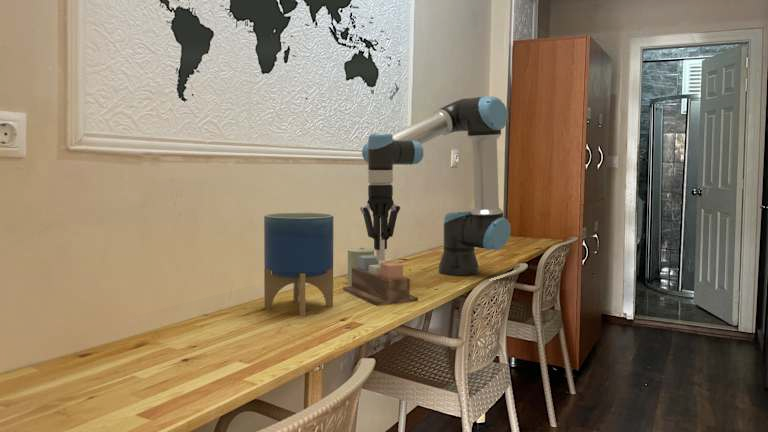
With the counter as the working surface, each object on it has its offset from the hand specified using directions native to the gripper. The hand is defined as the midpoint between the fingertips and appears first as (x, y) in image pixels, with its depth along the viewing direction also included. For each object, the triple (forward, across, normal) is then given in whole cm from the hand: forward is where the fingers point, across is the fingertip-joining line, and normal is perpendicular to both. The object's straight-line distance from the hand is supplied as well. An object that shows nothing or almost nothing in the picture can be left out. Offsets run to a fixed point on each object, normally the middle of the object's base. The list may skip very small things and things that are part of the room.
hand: (380, 260), depth 191 cm
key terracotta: (+7, 0, +8) cm, 10 cm away
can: (+11, -2, -20) cm, 23 cm away
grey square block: (+7, 0, -8) cm, 10 cm away
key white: (+8, +1, 0) cm, 8 cm away
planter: (+11, +28, +5) cm, 31 cm away
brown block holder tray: (+11, 0, 0) cm, 11 cm away
